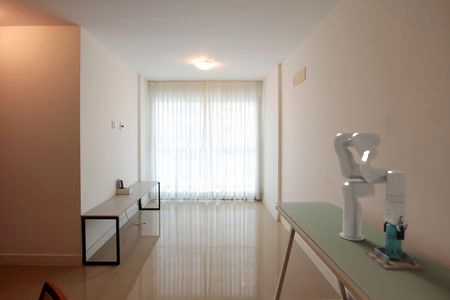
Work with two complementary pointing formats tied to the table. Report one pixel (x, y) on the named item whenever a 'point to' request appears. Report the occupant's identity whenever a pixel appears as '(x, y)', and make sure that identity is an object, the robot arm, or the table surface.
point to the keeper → (394, 260)
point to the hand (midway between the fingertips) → (393, 235)
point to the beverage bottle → (392, 242)
